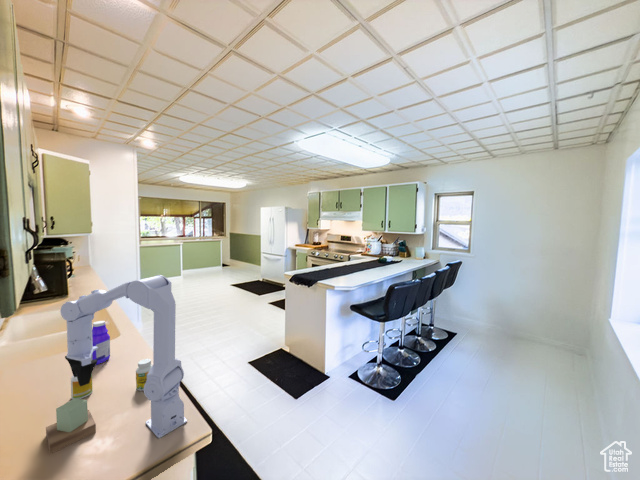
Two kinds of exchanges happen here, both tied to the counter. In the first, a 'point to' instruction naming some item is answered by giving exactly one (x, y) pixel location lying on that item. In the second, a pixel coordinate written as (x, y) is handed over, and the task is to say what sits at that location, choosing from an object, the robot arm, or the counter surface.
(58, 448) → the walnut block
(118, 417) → the counter surface
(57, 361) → the counter surface
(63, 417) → the sage block
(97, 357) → the bottle
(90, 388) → the supplement bottle
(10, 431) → the counter surface
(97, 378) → the counter surface
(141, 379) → the supplement bottle
